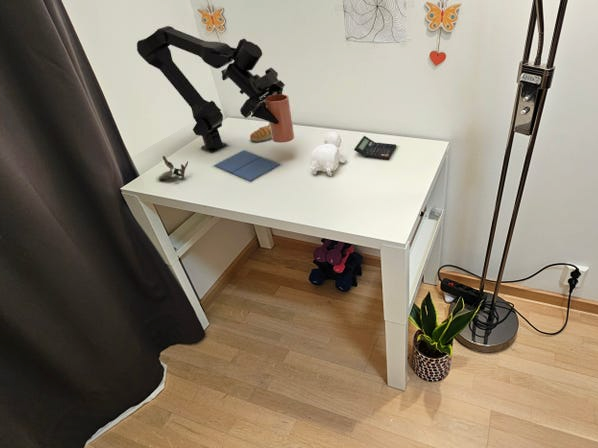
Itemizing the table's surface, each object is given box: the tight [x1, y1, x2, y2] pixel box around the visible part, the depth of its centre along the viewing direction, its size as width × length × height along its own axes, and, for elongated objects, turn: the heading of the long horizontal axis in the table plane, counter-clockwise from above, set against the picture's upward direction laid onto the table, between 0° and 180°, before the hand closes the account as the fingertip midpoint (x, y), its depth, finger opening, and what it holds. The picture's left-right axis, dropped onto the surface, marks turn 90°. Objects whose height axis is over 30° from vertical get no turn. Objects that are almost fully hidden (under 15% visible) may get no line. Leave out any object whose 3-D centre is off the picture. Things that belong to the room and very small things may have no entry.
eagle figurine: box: [158, 155, 189, 181], centre depth 123 cm, size 8×7×9 cm
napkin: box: [214, 150, 280, 182], centre depth 128 cm, size 18×12×1 cm, turn 53°
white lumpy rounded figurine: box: [310, 131, 346, 177], centre depth 124 cm, size 9×8×15 cm
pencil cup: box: [265, 93, 295, 144], centre depth 124 cm, size 7×7×13 cm
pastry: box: [249, 124, 272, 143], centre depth 144 cm, size 9×7×4 cm
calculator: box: [353, 135, 397, 161], centre depth 131 cm, size 9×12×3 cm
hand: (284, 118), depth 124 cm, fingers closed on pencil cup, 7 cm apart
